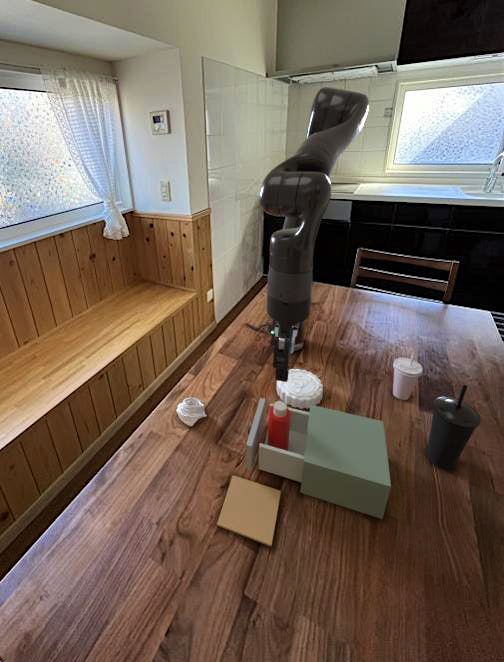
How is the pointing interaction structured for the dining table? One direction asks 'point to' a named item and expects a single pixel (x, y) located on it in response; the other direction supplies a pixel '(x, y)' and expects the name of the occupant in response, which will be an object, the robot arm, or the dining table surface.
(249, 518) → the cork coaster
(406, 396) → the smoothie
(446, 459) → the drinking cup
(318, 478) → the cabinet
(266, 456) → the drawer
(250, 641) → the dining table surface
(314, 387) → the mooncake
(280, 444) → the ketchup bottle
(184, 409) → the whipped cream
